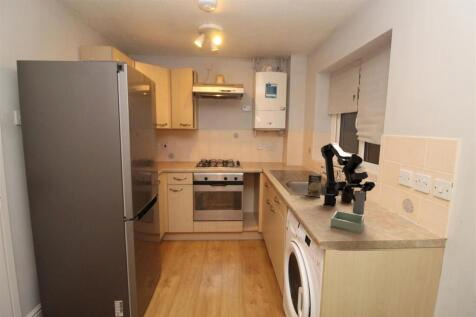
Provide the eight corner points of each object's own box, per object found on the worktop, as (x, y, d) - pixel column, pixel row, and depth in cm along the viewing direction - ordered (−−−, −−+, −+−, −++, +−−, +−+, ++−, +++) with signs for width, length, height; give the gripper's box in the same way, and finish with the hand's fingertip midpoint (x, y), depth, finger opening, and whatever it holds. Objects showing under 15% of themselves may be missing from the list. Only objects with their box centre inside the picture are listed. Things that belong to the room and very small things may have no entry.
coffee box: (307, 196, 169) (308, 174, 167) (307, 194, 175) (308, 173, 173) (320, 197, 166) (321, 175, 164) (320, 195, 172) (321, 174, 170)
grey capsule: (350, 212, 118) (352, 191, 116) (355, 210, 121) (357, 190, 119) (360, 215, 114) (362, 193, 112) (365, 213, 117) (367, 192, 115)
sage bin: (330, 226, 117) (331, 218, 116) (335, 218, 128) (336, 210, 127) (360, 233, 109) (361, 224, 109) (363, 224, 121) (364, 215, 120)
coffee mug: (352, 204, 153) (353, 189, 152) (338, 201, 158) (339, 187, 157) (354, 199, 163) (355, 185, 162) (341, 197, 168) (342, 184, 166)
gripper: (339, 165, 118) (348, 192, 109) (375, 166, 119) (387, 193, 109) (331, 177, 127) (339, 203, 118) (365, 178, 128) (375, 203, 118)
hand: (360, 200), depth 115 cm, fingers closed on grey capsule, 5 cm apart
